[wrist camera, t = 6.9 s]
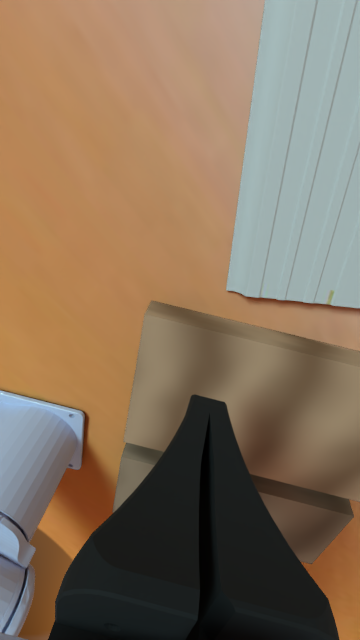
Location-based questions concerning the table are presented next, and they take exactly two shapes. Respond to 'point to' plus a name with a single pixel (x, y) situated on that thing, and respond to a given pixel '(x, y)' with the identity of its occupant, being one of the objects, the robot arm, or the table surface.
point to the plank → (252, 395)
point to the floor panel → (279, 498)
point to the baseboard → (302, 159)
